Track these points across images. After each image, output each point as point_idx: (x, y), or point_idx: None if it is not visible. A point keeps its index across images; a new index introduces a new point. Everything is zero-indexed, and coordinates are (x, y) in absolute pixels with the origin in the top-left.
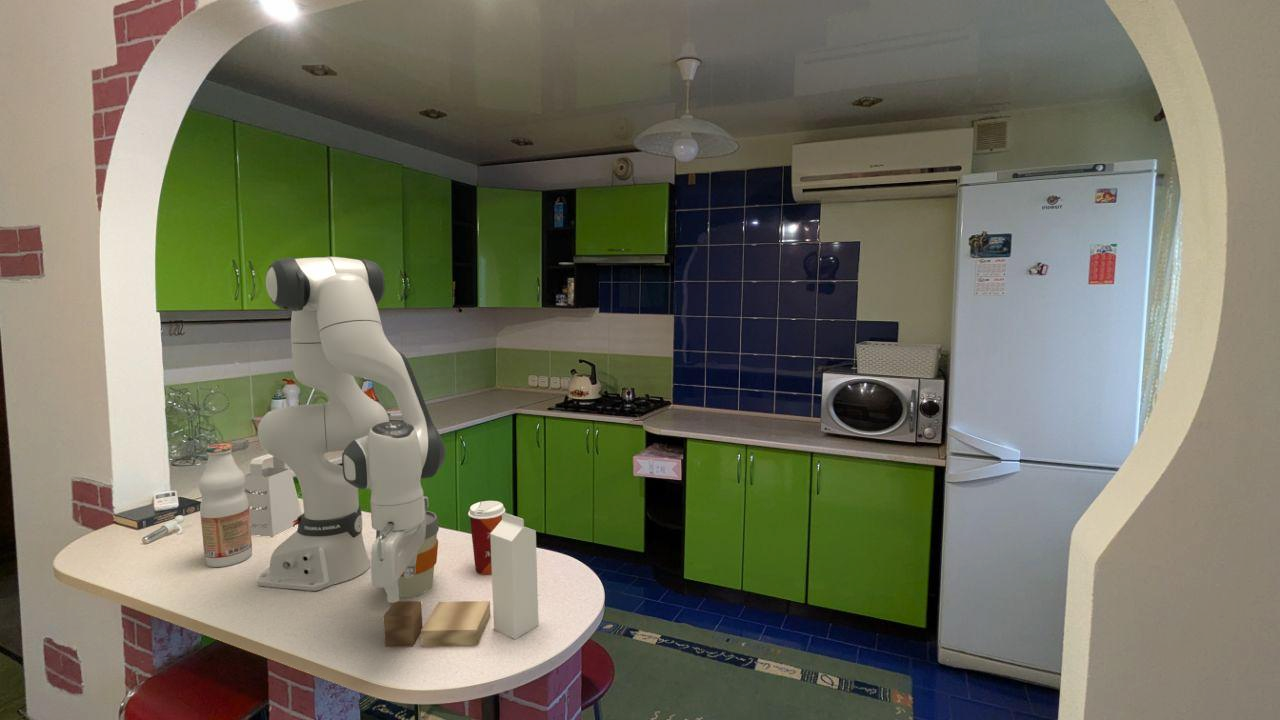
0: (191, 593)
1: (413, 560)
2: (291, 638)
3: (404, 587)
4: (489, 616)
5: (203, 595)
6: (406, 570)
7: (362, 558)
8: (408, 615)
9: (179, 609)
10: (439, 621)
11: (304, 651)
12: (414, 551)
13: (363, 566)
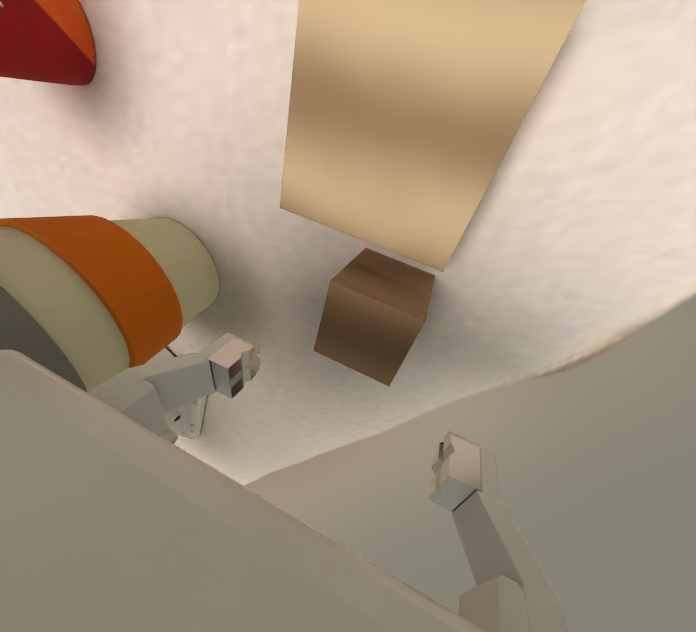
0: None
1: (177, 377)
2: (322, 434)
3: (201, 289)
4: None
5: (219, 467)
6: (237, 385)
7: None
8: (419, 329)
9: (243, 483)
10: (407, 206)
11: (364, 430)
12: (150, 501)
13: None
